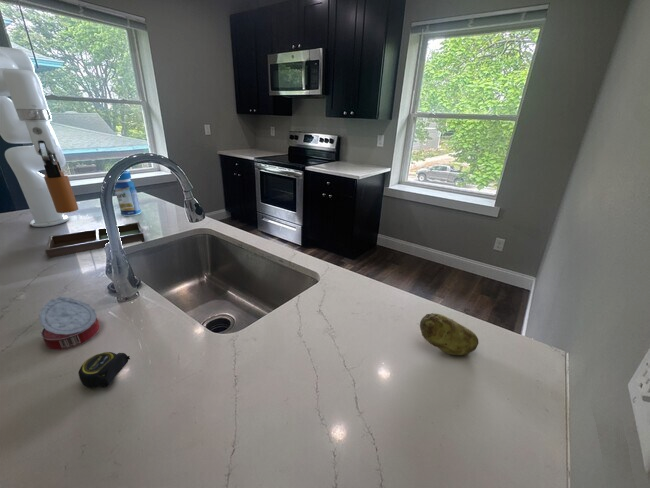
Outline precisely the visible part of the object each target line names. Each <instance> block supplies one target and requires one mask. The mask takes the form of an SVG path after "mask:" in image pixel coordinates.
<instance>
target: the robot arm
mask: <svg viewBox="0 0 650 488" xmlns="http://www.w3.org/2000/svg"><path fill="white" fill-rule="evenodd" d="M50 122H53V119H52V115H51V112H50V109H49V105H48V103H47V99H46V97H45V94H44V89H43V84H42V81H41V79H40V78H39V76H38V74H37V73H36V72H35V65H34V64H33V60H32V59H31V58H30V56H29V55H28V54H27V53H26V52H25V51H23V49H19V48H15V47H7V46H0V137H1V138H2V139H3V141H5V142H6V143H8V144H32V145H21V146H12V147H9V148H7V149H6V150H5V151H4V158H5V160H6V162H7V164H8V165H9V167H10V168H11V170H12V172H13V173H14V176H15V177H16V179H17V182H18V183H19V187H20V189H21V191H22V194H23V196H24V199H25V200H26V203H27V206H28V209H29V210H30V213H31V215H32V218H33V219H32V220H31V221H30V223H29V224H30V225H31V226H32V227H34V228H44V227H45V228H47V227H52V226H57V225H61V224H64V223H66V222H68V221H69V220H70V218H69V216H68V215H66V214H64V213H57V212H56V209H55V206H54V204H53V201H52V198H51V195H50V193H49V190H48V187H47V185H46V182H45V179H44V176H45V174H46V173H47V175H46V176H48V178H56V177H61V174H60V171H59V169H60V170H62V168H64V167H65V166H66V164H67V160H66V157H65V153H64V151H63V149H62V147H61V145H60V143H59V140H58V138H57V136H56V133H55V131H54V129H53V127H52V125H51V124H50ZM54 158H56V159H57V164H58V166H59V168H58V166H57V164H56V163H55V160H54ZM44 170H45V172H46V173H45V174H43V173H40V172H39V171H44Z"/></svg>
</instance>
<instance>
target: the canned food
mask: <svg viewBox="0 0 650 488" xmlns="http://www.w3.org/2000/svg"><path fill="white" fill-rule="evenodd" d="M40 310H41V311H40V312H39V314H38V317H39V324H40V326H41V327H42V328H43V329H42V330H41V332H40V333H41V337H42V339H43V341H44V343H45V346H46V347H47V348H48V349H50V350H52V351H64V350H69V349H70V350H71V349H73V348H76V347H79V346H81V345H84V344H86V343H87V342H89V341H91V339H93V338H94V337H95V336H96V335H97V334H98V333H99V331H100V329H101V325H100V323H99V320H98V318H97V313H96V310H95V309H94V308H93V307H92V306H91V305H90V304H89V303H85V302H84V301H82V300H78V299H75V298H73V297H65V296H59V297H57V298H52V299H51V300H49V301H48V302H47V303H45V304H44V305H43V306H42V309H40Z"/></svg>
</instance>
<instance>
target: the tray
mask: <svg viewBox="0 0 650 488" xmlns="http://www.w3.org/2000/svg"><path fill="white" fill-rule="evenodd" d="M117 226H118V228H119V232H120V238H121V241H122V245H127V244H133V243H138V242H141V243H145V242H146V240H145V236H144V232H143V229H142V226H141V224H140V222H139V221H138V222H132V223H131V222H130V223H125V224H119V225H117ZM108 242H109V240H108V236H107V233H106V229H105V227H99V228H94V229H86V230H79V231H74V232H68V233H67V232H66V233H61V234H54V235H50V236H48V240H47V244H46V247H45V253H46V255H47V258H48V259H52V258H58V257H64V256H67V255H68V256H69V255H75V254H79V253H85V252H90V251H95V250H101V249H105V248H104V247H105V244H106V243H108ZM122 245H121V246H122Z"/></svg>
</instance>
